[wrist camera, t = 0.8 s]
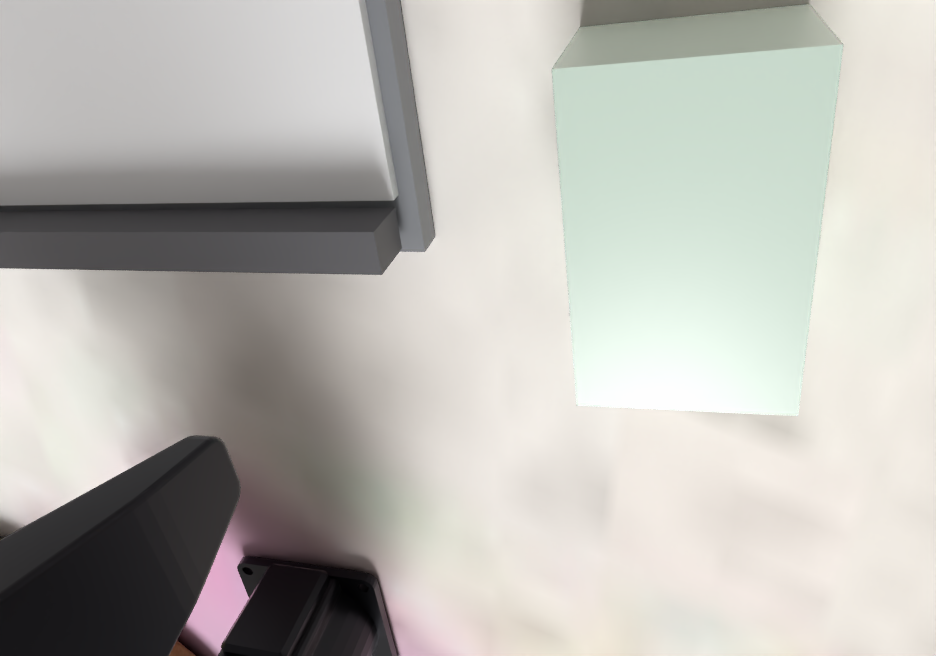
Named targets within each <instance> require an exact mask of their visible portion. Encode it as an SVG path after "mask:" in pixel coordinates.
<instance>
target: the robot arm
mask: <svg viewBox="0 0 936 656" xmlns="http://www.w3.org/2000/svg"><path fill="white" fill-rule="evenodd" d="M240 489H241V487H240V481H239V478H238V475H237V473H236V470H235V468H234V465H233V463H232V460H231V458H230V455H229V453H228V450H227V448H226V445H225V444H224V442H223V441H222V440H221V439H220V438H217V437H214V436H199V435H195V436H189V437H187V438H185V439H183V440H181V441H179V442H177V443H176V444H174V445H172V446H170V447H168V448H167V449H165V450H163V451H161V452H159V453H157V454H156V455H154V456H152V457H150V458H148V459H147V460H145V461H143V462H141V463H139V464H137V465H136V466H134V467H132V468H130V469H128V470H127V471H125V472H123V473H121V474H119V475H117V476H116V477H114V478H112V479H110V480H108V481H107V482H105V483H103V484H101V485H99V486H97V487H96V488H94V489H92V490H90V491H88V492H87V493H85V494H83V495H81V496H79V497H77V498H76V499H74V500H72V501H70V502H68V503H67V504H65V505H63V506H61V507H59V508H57V509H56V510H54V511H52V512H50V513H48V514H47V515H45V516H43V517H41V518H39V519H37V520H36V521H34V522H32V523H30V524H28V525H27V526H25V527H23V528H21V529H19V530H17V531H16V532H14V533H12V534H10V535H8V536H7V537H5V538H3V539H1V540H0V656H169V655H170V653H171V651H172V649H173V647H174V645H175V643H176V641H177V639H178V638H179V636H180V634H181V632H182V630H183V628H184V626H185V624H186V622H187V620H188V618H189V616H190V614H191V612H192V610H193V608H194V606H195V604H196V602H197V600H198V598H199V596H200V593H201V591H202V589H203V586H204V584H205V582H206V579H207V577H208V574H209V572H210V570H211V567H212V565H213V562H214V560H215V557H216V555H217V552H218V550H219V547H220V545H221V543H222V540H223V538H224V535H225V533H226V530H227V528H228V525H229V523H230V520H231V518H232V516H233V513H234V511H235V508H236V506H237V503H238V501H239V497H240ZM237 568H238V572H239V574H240V577H241V579H242V582H243V584H244V586H245V589H246V591H247V594H248V596H249V600H248V601H247V603H246V605H245V606H244V608H243V610H242V611H241V613H240V615H239V616H238V618H237V619H236V621H235V623H234V624H233V626H232V628H231V629H230V631H229V633H228V634H227V636H226V638H225V639H224V641H223V643H222V645H221V648H222V649H221V651H220V653H219V654H218V656H397V653H396V649H395V645H394V642H393V638H392V634H391V630H390V626H389V623H388V619H387V615H386V611H385V607H384V604H383V600H382V596H381V592H380V589H379V585H378V581H377V579H376V578H375V577H374V576H373V575H371V574H369V573H365V572H359V571H352V570H345V569H338V568H330V567H323V566H316V565H309V564H302V563H295V562H287V561H280V560H273V559H266V558H259V557H251V556H245V557H243V558H242V560H241V561H240V563H239V564H238V566H237Z"/></svg>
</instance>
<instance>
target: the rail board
mask: <svg viewBox="0 0 936 656" xmlns="http://www.w3.org/2000/svg"><path fill="white" fill-rule="evenodd" d="M434 238H435V232H434V225H433V219H432V212H431V205H430V198H429V192H428V185H427V178H426V172H425V165H424V158H423V151H422V145H421V138H420V131H419V125H418V118H417V111H416V104H415V98H414V91H413V84H412V78H411V71H410V64H409V57H408V51H407V44H406V37H405V31H404V24H403V17H402V11H401V4H400V0H0V268H22V269H79V270H137V271H194V272H252V273H309V274H367V275H382V274H383V273H384V271H385V270H386V269H387V267H388V266H389V265H390V263H391V262H392V261H393V259H394V258H395V257H396V255H397V254H398V253H399V251H403V252H425V251H426V249H427V248H428V247H429V245H430V244H431V242H432V241H433V239H434Z"/></svg>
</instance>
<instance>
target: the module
mask: <svg viewBox="0 0 936 656" xmlns="http://www.w3.org/2000/svg"><path fill="white" fill-rule="evenodd" d="M842 52H843V43H842V42H841V41H840V40H839V38H838V37H837V36H836V35H835V34H834V32H833V31H832V30H831V29H830V28H829V27H828V25H827V24H826V23H825V22H824V21H823V20H822V18H821V17H820V16H819V15H818V14H817V12H816V11H815V10H814V9H813V8H812V7H811V5H810V4H804V5H794V6H784V7H774V8H764V9H754V10H744V11H734V12H724V13H714V14H705V15H695V16H685V17H675V18H665V19H655V20H645V21H635V22H625V23H615V24H606V25H596V26H586V27H580V28H579V30H578V31H577V32H576V34H575V35H574V37H573V38H572V40H571V41H570V43H569V44H568V46H567V47H566V49H565V50H564V52H563V53H562V55H561V56H560V58H559V59H558V61H557V62H556V64H555V65H554V67H553V68H552V78H553V92H554V106H555V119H556V133H557V146H558V160H559V173H560V187H561V200H562V214H563V228H564V241H565V255H566V268H567V282H568V295H569V309H570V322H571V336H572V349H573V363H574V377H575V390H576V404H577V406H596V407H617V408H639V409H660V410H681V411H702V412H723V413H744V414H765V415H787V416H798V413H799V405H800V397H801V389H802V380H803V372H804V364H805V356H806V347H807V339H808V331H809V323H810V315H811V306H812V298H813V290H814V282H815V274H816V265H817V257H818V249H819V241H820V232H821V224H822V216H823V208H824V200H825V191H826V183H827V175H828V167H829V159H830V150H831V142H832V134H833V126H834V118H835V109H836V101H837V93H838V85H839V76H840V68H841V60H842Z"/></svg>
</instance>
